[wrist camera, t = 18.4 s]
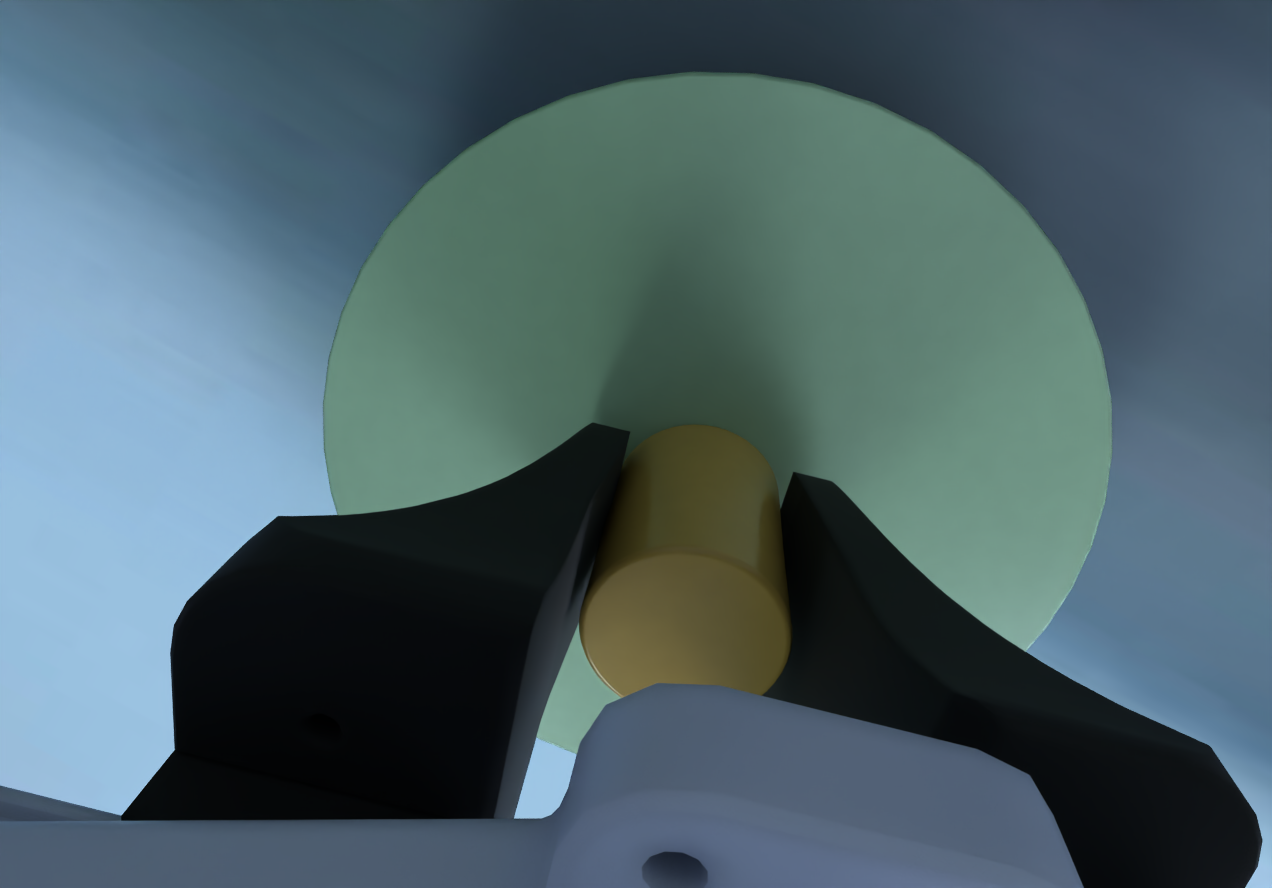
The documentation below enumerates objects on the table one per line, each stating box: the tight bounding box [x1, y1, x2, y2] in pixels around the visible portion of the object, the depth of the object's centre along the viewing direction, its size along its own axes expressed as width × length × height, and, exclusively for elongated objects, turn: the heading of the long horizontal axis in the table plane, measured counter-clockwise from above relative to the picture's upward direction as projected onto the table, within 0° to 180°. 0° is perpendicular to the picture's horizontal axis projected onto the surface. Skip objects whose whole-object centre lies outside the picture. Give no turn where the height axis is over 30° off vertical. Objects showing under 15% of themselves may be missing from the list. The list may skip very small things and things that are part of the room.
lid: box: [323, 72, 1112, 754], centre depth 12 cm, size 12×12×5 cm
